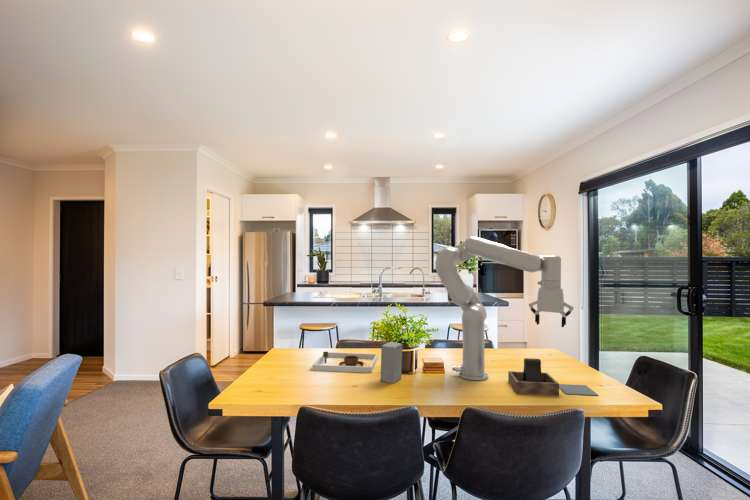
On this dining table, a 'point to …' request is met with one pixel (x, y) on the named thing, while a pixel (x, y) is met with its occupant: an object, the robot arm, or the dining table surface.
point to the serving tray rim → (346, 368)
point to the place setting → (347, 360)
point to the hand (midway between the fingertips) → (550, 325)
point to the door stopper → (532, 370)
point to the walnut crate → (533, 384)
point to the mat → (577, 390)
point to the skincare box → (391, 362)
